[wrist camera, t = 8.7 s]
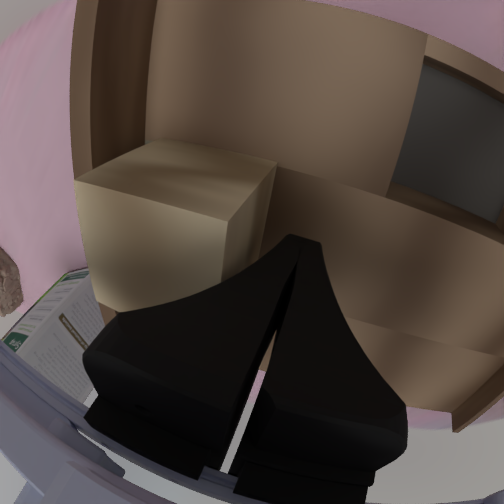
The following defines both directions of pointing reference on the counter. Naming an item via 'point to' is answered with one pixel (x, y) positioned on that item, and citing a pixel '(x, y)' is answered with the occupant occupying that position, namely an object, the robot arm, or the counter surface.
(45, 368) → the syrup box
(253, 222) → the maple block
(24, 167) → the counter surface
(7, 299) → the brick
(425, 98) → the trap board
